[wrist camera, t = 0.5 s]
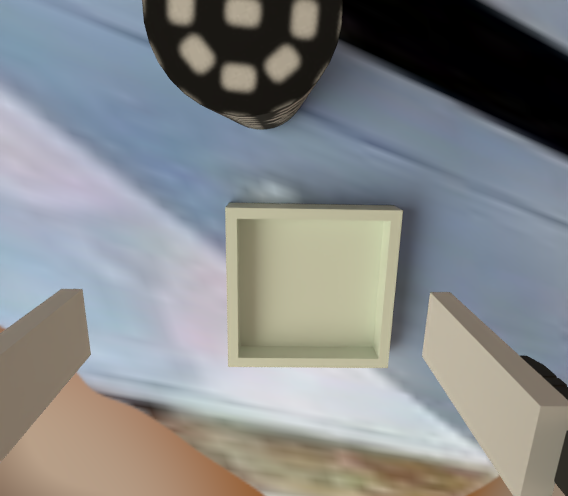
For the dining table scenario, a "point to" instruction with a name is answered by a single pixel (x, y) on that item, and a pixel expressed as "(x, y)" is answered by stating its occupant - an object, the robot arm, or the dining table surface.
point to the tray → (311, 284)
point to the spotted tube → (245, 52)
